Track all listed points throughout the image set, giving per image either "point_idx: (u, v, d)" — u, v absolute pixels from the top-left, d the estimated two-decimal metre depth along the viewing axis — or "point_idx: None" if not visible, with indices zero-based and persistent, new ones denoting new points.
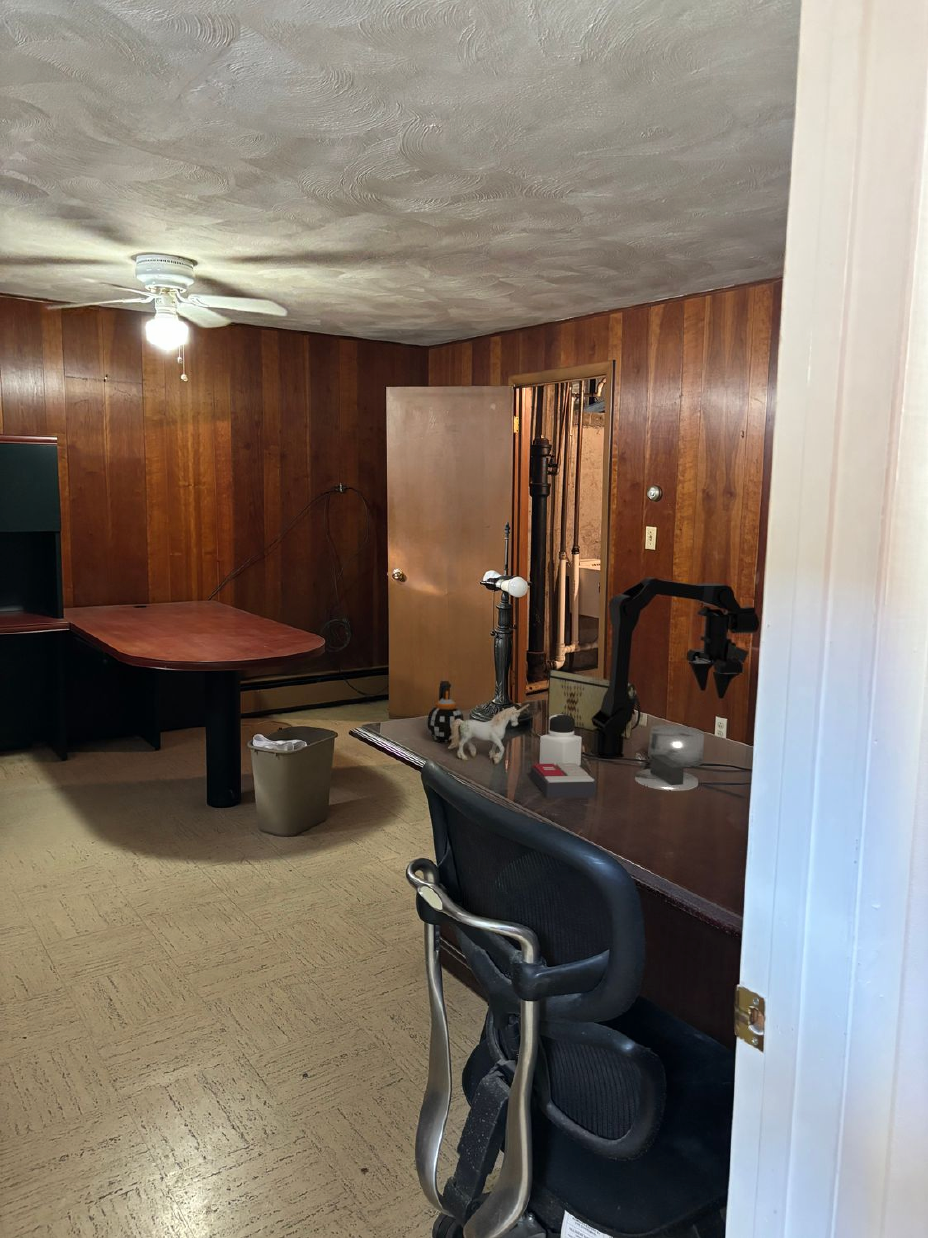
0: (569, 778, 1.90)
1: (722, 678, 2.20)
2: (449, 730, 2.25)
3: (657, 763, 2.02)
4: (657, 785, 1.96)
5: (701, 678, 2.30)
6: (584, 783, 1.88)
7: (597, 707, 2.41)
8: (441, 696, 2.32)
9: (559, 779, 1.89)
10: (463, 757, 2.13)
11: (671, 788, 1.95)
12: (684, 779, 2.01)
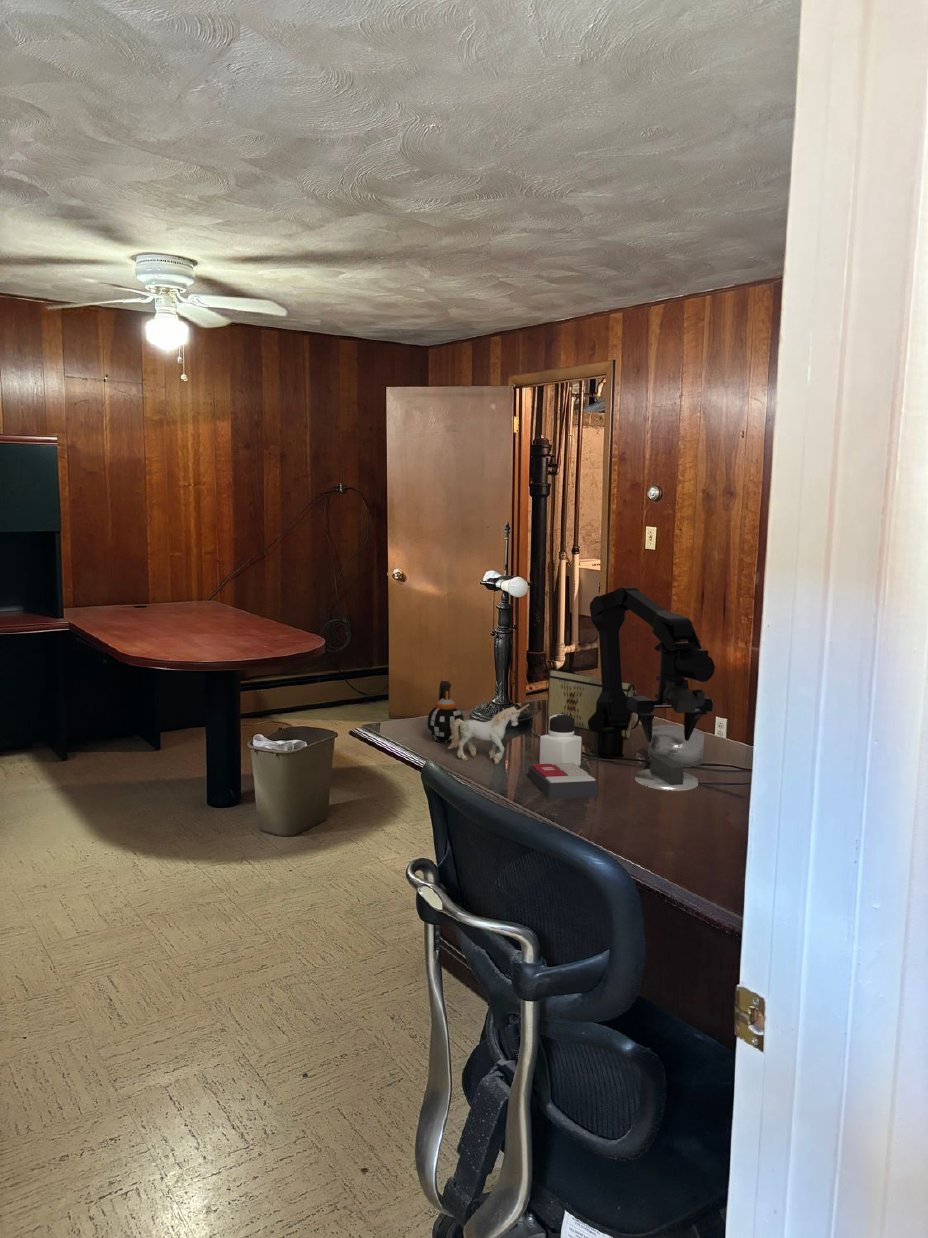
0: (570, 778, 1.90)
1: (644, 718, 1.99)
2: (449, 730, 2.25)
3: (657, 763, 2.02)
4: (657, 785, 1.96)
5: (686, 726, 2.02)
6: (585, 783, 1.89)
7: None
8: (441, 696, 2.32)
9: (561, 779, 1.89)
10: (463, 757, 2.13)
11: (671, 788, 1.95)
12: (684, 779, 2.01)
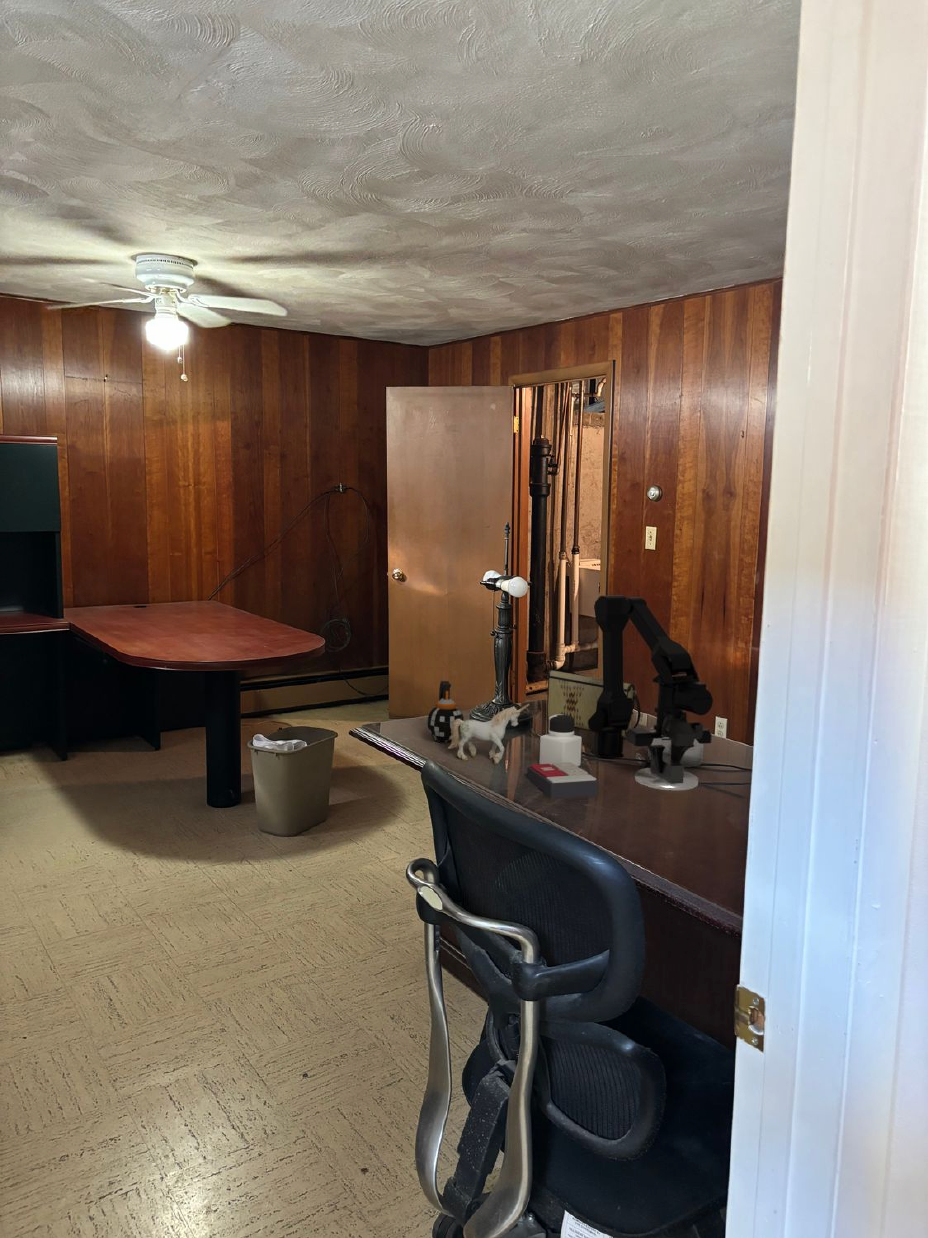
0: (571, 778, 1.90)
1: (654, 749, 2.01)
2: (449, 730, 2.25)
3: None
4: (657, 783, 1.96)
5: (673, 758, 2.02)
6: (587, 782, 1.89)
7: None
8: (441, 696, 2.32)
9: (562, 779, 1.89)
10: (463, 757, 2.13)
11: (671, 787, 1.95)
12: (684, 778, 2.01)
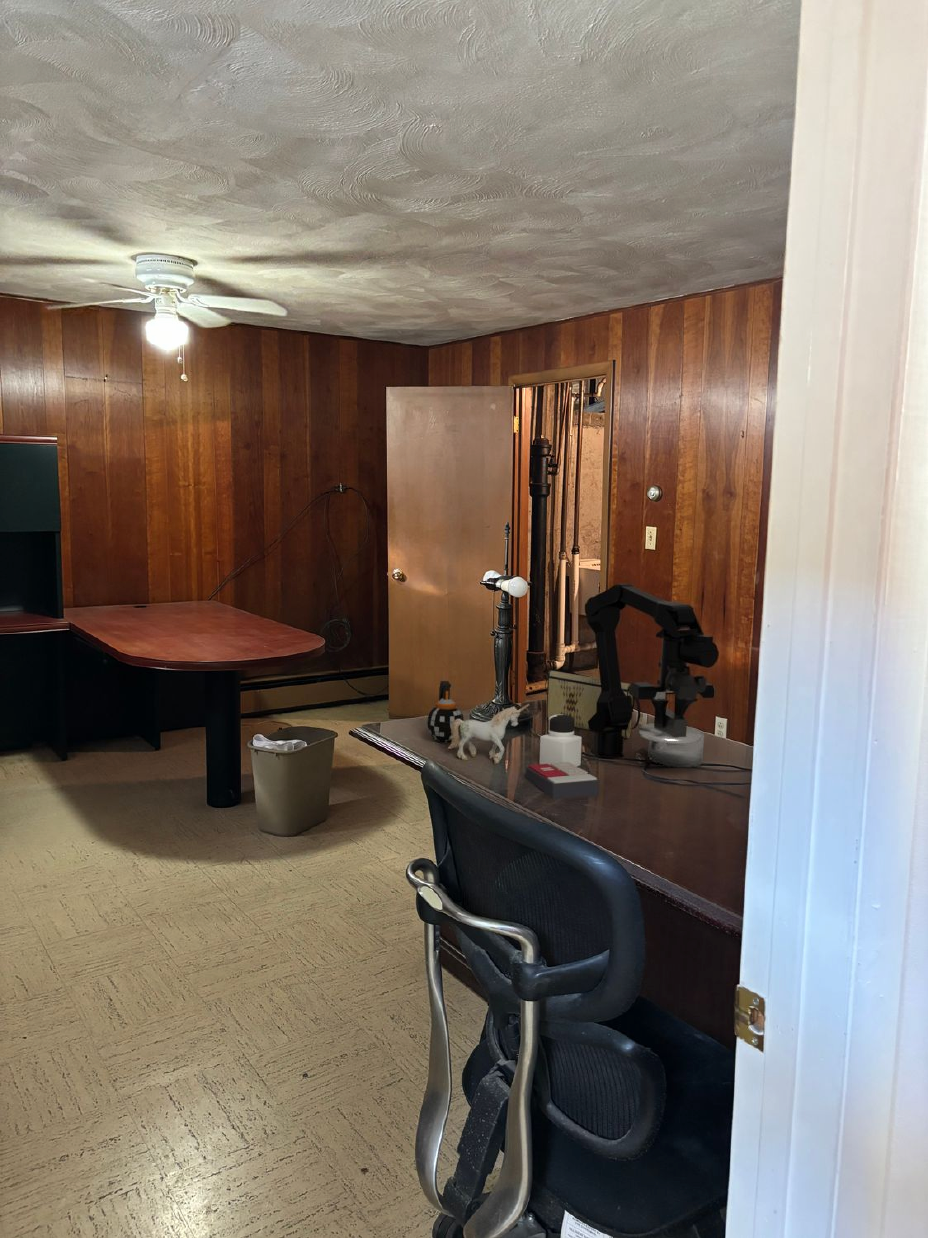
0: (572, 778, 1.90)
1: (658, 704, 2.02)
2: (449, 730, 2.25)
3: None
4: (660, 737, 1.97)
5: (676, 712, 2.03)
6: (588, 782, 1.89)
7: None
8: (441, 696, 2.32)
9: (564, 779, 1.89)
10: (463, 757, 2.13)
11: (674, 740, 1.96)
12: (687, 732, 2.02)
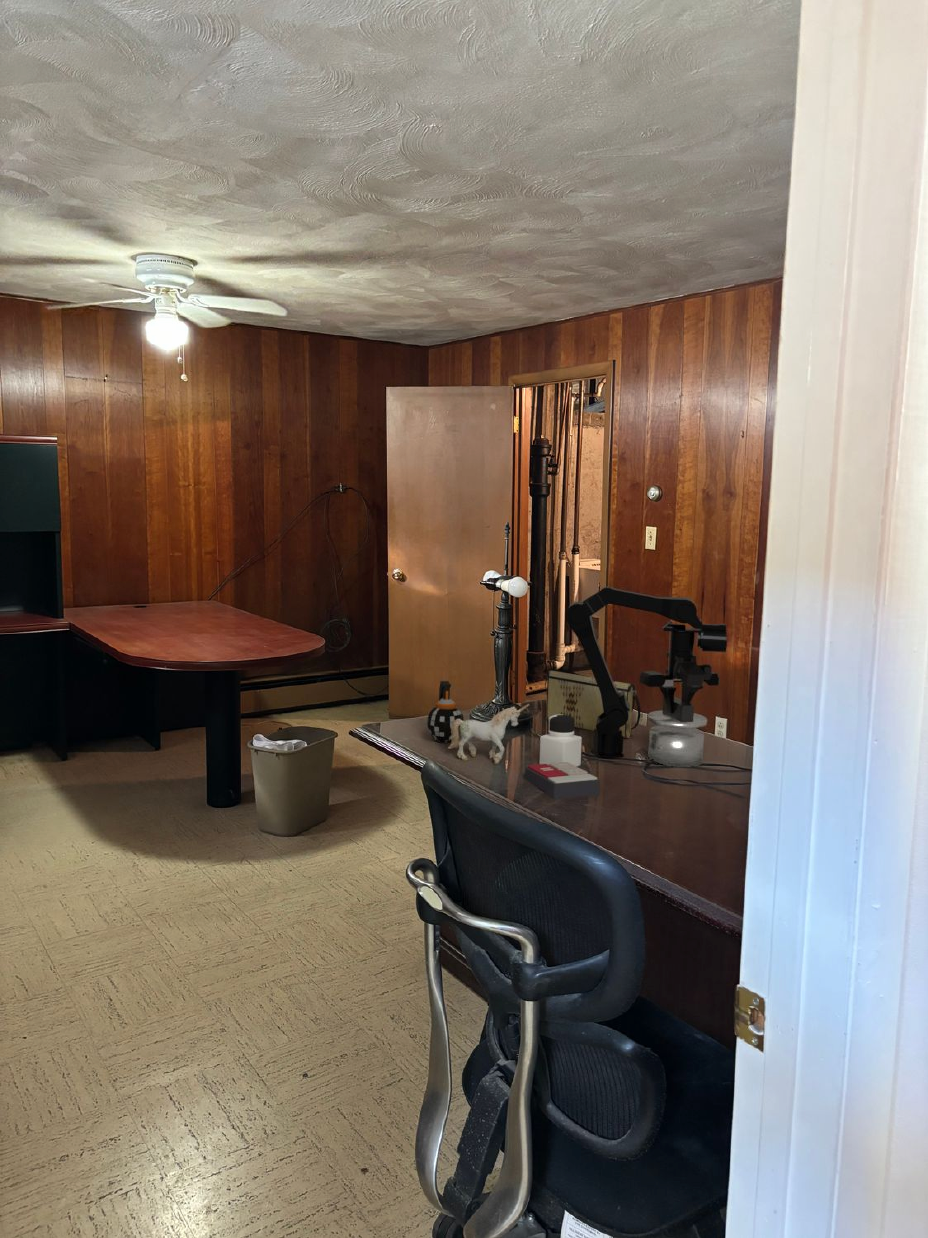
0: (573, 778, 1.90)
1: (666, 691, 2.16)
2: (449, 730, 2.25)
3: None
4: (669, 722, 2.12)
5: (683, 699, 2.17)
6: (589, 782, 1.89)
7: (597, 707, 2.41)
8: (441, 696, 2.32)
9: (564, 779, 1.89)
10: (463, 757, 2.13)
11: (682, 724, 2.10)
12: (694, 718, 2.16)
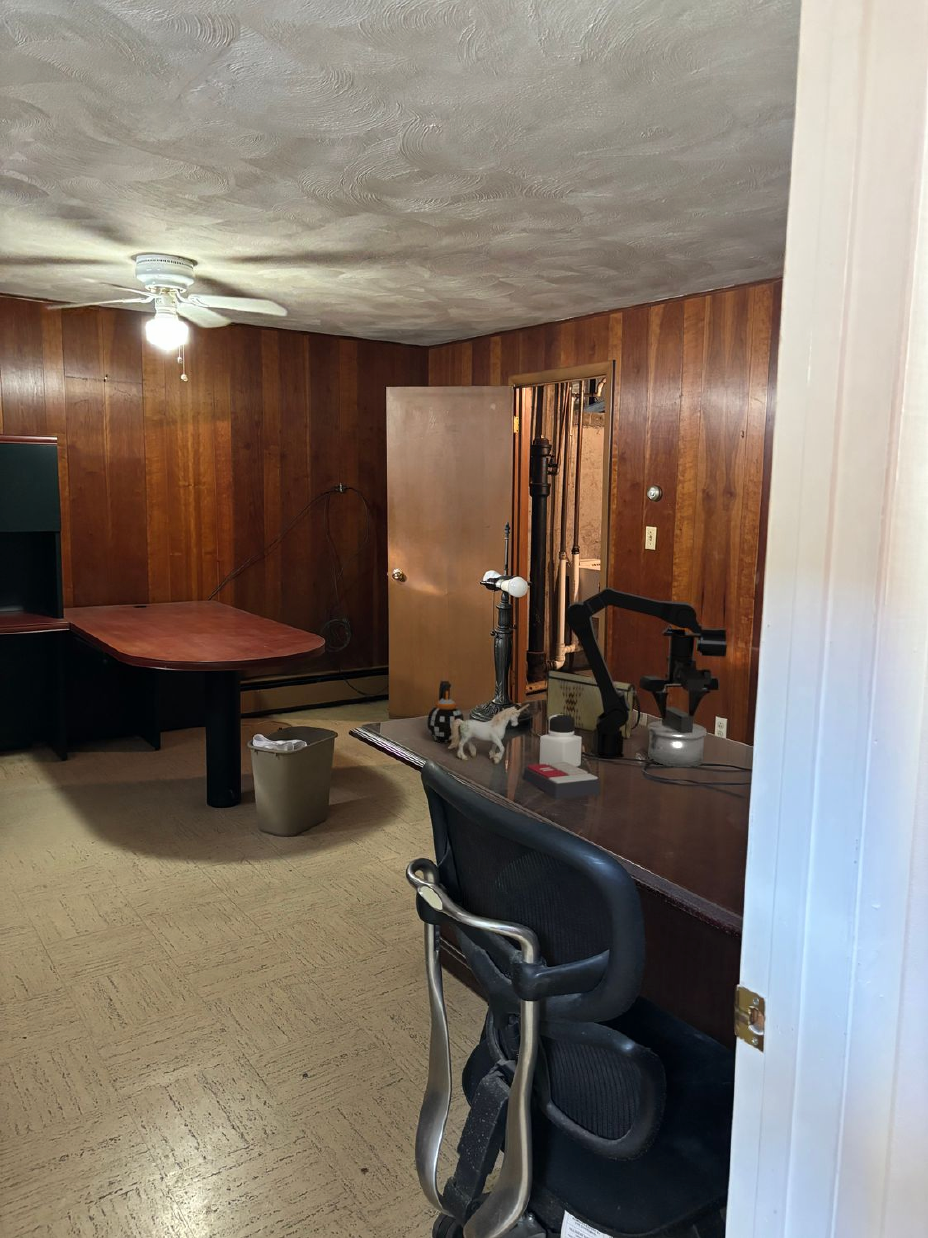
0: (574, 777, 1.90)
1: (658, 696, 2.16)
2: (449, 730, 2.25)
3: (668, 714, 2.18)
4: (668, 733, 2.12)
5: (691, 704, 2.18)
6: (589, 781, 1.90)
7: (597, 708, 2.41)
8: (441, 696, 2.32)
9: (565, 779, 1.89)
10: (463, 757, 2.13)
11: (681, 735, 2.11)
12: (693, 728, 2.17)
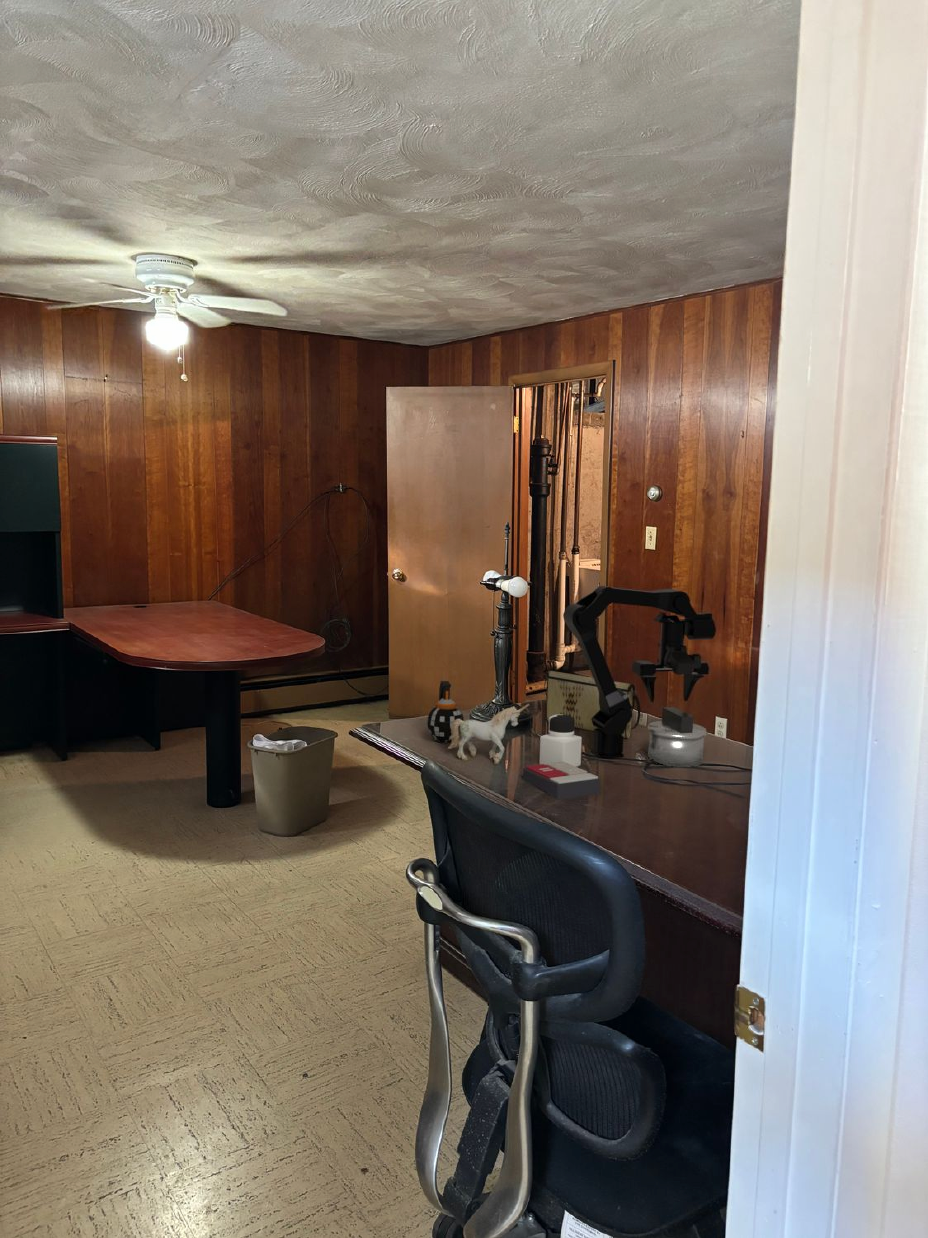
0: (574, 777, 1.90)
1: (647, 680, 2.22)
2: (449, 730, 2.25)
3: (668, 714, 2.18)
4: (668, 733, 2.12)
5: (685, 688, 2.25)
6: (590, 781, 1.90)
7: (597, 708, 2.40)
8: (441, 696, 2.32)
9: (567, 779, 1.89)
10: (463, 757, 2.13)
11: (681, 736, 2.11)
12: (693, 729, 2.17)
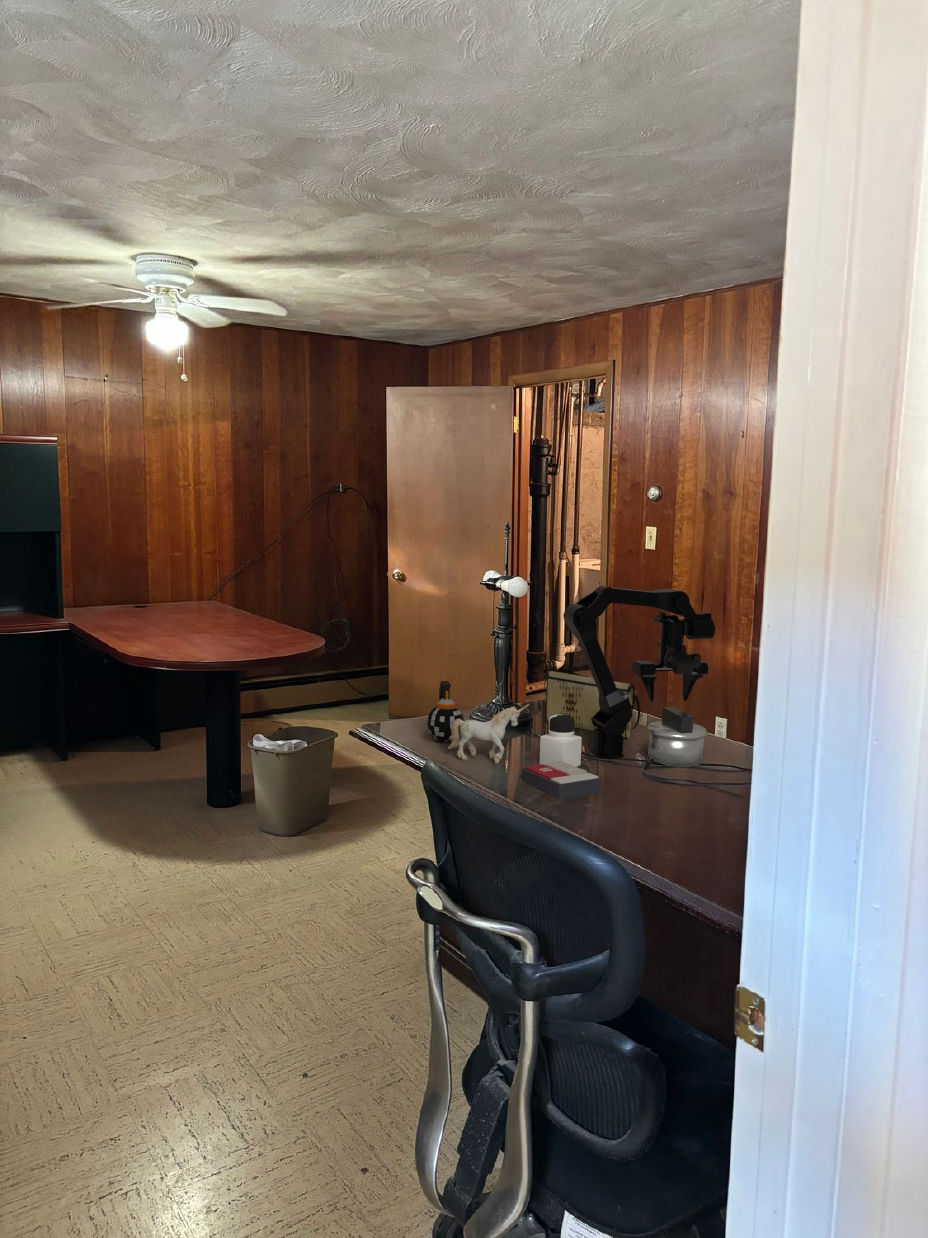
0: (575, 777, 1.90)
1: (647, 680, 2.22)
2: (449, 730, 2.25)
3: (668, 714, 2.18)
4: (668, 733, 2.12)
5: (684, 687, 2.25)
6: (591, 781, 1.90)
7: (597, 708, 2.40)
8: (441, 696, 2.32)
9: (568, 779, 1.89)
10: (463, 757, 2.13)
11: (681, 736, 2.11)
12: (693, 729, 2.17)
